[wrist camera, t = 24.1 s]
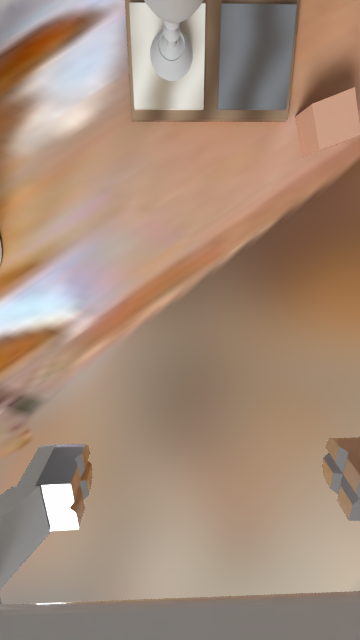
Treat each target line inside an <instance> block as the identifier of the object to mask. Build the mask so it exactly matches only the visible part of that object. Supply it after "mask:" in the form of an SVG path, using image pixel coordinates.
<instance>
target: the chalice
mask: <svg viewBox="0 0 360 640" xmlns="http://www.w3.org/2000/svg"><path fill="white" fill-rule="evenodd" d="M144 1H145V2H146V4H147V5H148V6H149V8H150V9H151V10H152V11H153V12H154V13H155V14H156V15H157V16H158V17H159V18H160V19H162V20H163V21H164V26H163V29H162V30H161V31H160V32H159V33H158V34H156V36H155V38H154V39H153V41H152V44H151V48H150V59H151V63H152V66H153V68H154V70H155V71H156V73H157V74H158V75H159V76H160V77H161V78H163V79H165V80H168V81H176V80H179V79H181V78H182V77H184V76H185V75H186V74H187V72H188V71H189V69H190V67H191V64H192V61H193V50H192V46H191V43H190V41H189V39H188V37H187V36H186V35H185V34H184V33H183V32H182V31H181V30H180V27H179V24H180V22H182V21H185V20H186V19H188V18H189V17H190V16H191V15H192V14H193V13H194V12H195V11H196V10H197V9H198V8H199V7H200V5H201V3H202V2H203V0H144Z"/></svg>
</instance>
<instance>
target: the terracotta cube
mask: <svg viewBox="0 0 360 640" xmlns="http://www.w3.org/2000/svg"><path fill="white" fill-rule="evenodd" d="M295 119H296V125H297V130H298V136H299V141H300V146H301V152H302V157H305V156H308V155H311V154H313V153H316V152H319V151H321V150H324V149H326V148H329V147H332V146H334V145H337V144H340V143H342V142H344V141H347V140H349V139H352V138H354V137H356V136H359V135H360V125H359V116H358V108H357V100H356V91H355V87H354V88H351V89H348V90H346V91H343V92H341V93H338V94H336V95H333V96H331V97H328V98H326V99H323V100H321V101H318V102H316V103H313V104H311V105H310V106H309V107H307V108H306V109H305V110H303V111H302V112H301V113H300V114H298V115H297V116H296V117H295Z"/></svg>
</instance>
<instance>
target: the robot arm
mask: <svg viewBox="0 0 360 640" xmlns="http://www.w3.org/2000/svg"><path fill="white" fill-rule="evenodd" d="M1 257H2V247H1V241H0V263H1ZM326 449H327V450H328V452H329V453H328V454H327V455H326V456H325V457H324V459H323V464H322V467H323V474H324V477H325V480H326V482H327V484H328V485H329V488H330V489H332V490H333V491H335V492H336V493H337V494H338V498H337V501H338V503H339V505H340V507H341V508H342V510H343V512H344V513H345V515H346V517H347V519H348V520H354V521H356V520H358V521H359V520H360V437H358V438H357V437H352V438H329V440H328V441H327V444H326ZM89 455H90V450H89V446H88V445H86V444H82V445H80V444H71V445H69V444H64V445H63V444H59V445H42V446H40V447H39V448H38V450H37V452H36V453H35V455H34V457H33V459H32V460H31V462H30V464H29V466H28V467H27V469H26V471H25V473H24V474H23V476H22V478H21V480H20V481H19V483H18V485H17V487H11V488H10V489H8V490H7V491H5V492H4V493H3V494H1V495H0V590H1V588H2V587H3V586H4V585H5V584H6V583H7V582H8V580H9V579H10V578H11V577H12V576H13V575H14V574H15V572H16V571H17V570H18V569H19V568H20V567H21V566H22V564H23V563H24V562H25V561H26V560H27V559H28V558H29V556H30V555H31V554H32V553H33V552H34V551H35V550H36V548H37V547H38V546H39V545H40V544H41V543H42V542H43V540H44V539H45V538H46V537H47V536H48V535H49V534H50V531H56V530H71V529H79V526H80V522H81V519H82V516H83V513H84V509H85V506H84V499H85V498H86V497H87V496H88V495H89V492H90V489H91V483H92V464H91V463H90V462H89V461H88V458H89ZM0 640H360V591H353V592H330V593H329V592H326V593H300V594H275V595H247V596H221V597H195V598H194V597H193V598H167V599H139V600H112V601H85V602H58V603H32V604H6V605H2V602H1V599H0Z"/></svg>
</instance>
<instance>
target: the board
mask: <svg viewBox="0 0 360 640" xmlns="http://www.w3.org/2000/svg"><path fill="white" fill-rule="evenodd" d="M299 3H300V0H203V2H202V3H201V5H200V7H199V8H198V9H197V10H196V11H195V12H194V13H193V14H192V15H191V16H190V17H189V18H188V19H186V20H185V21H182V22H180V24H179V27H180V30H181V31H182V32H183V33H184V34H185V35H186V36H187V37H188V39H189V41H190V43H191V46H192V50H193V61H192V64H191V67H190V69H189V71H188V72H187V74H186V75H185V76H184V77H182V78H181V79H179V80H176V81H168V80H165V79H163V78H161V77H160V76H159V75H158V74H157V73H156V71H155V70H154V68H153V66H152V63H151V59H150V48H151V44H152V41H153V39H154V38H155V36H156V34H158V33H159V32H160V31H161V30H162V29H163V26H164V21H163V20H162V19H160V18H159V17H158V16H157V15H156V14H155V13H154V12H153V11H152V10H151V9H150V8H149V6H148V5H147V4H146V2H145V1H144V0H125V9H126V28H127V47H128V65H129V84H130V103H131V120H132V121H165V122H285V121H286V120H288V111H289V101H290V91H291V81H292V72H293V62H294V52H295V42H296V32H297V22H298V13H299Z"/></svg>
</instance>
